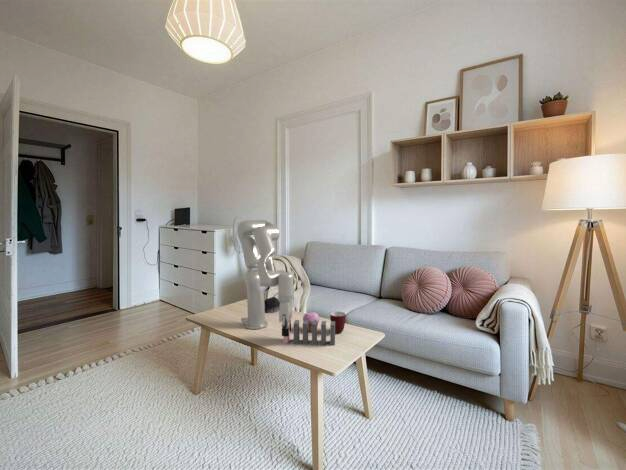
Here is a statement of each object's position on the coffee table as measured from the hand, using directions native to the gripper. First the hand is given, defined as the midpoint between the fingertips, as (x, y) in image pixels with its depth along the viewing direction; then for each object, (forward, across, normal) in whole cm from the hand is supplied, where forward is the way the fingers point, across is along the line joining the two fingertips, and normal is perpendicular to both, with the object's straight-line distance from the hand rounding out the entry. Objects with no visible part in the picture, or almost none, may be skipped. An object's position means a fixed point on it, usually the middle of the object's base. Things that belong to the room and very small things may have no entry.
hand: (286, 333), depth 152 cm
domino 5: (+4, 0, +23) cm, 23 cm away
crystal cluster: (+4, -47, -20) cm, 51 cm away
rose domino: (+4, 0, 0) cm, 4 cm away
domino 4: (+4, 0, +18) cm, 19 cm away
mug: (+4, -15, +26) cm, 30 cm away
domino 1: (+4, 0, +5) cm, 6 cm away
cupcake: (+4, -15, +10) cm, 19 cm away
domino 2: (+4, 0, +10) cm, 10 cm away
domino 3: (+4, 0, +14) cm, 15 cm away
